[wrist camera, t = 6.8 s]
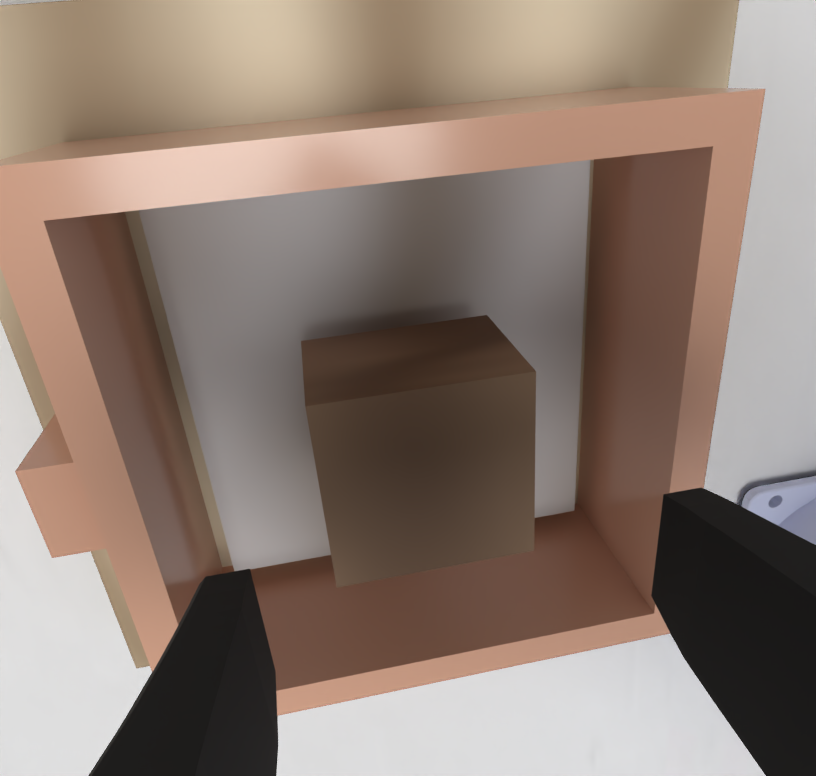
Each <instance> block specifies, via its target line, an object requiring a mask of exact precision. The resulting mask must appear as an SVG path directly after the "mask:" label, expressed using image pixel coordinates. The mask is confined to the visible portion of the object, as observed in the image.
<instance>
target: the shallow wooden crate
mask: <svg viewBox="0 0 816 776" xmlns="http://www.w3.org/2000/svg"><path fill="white" fill-rule="evenodd" d="M764 95H765V89H747V88H681V87H623V88H613V89H602V90H592V91H582V92H572V93H561V94H551V95H541V96H531V97H520V98H510V99H500V100H490V101H479V102H469V103H459V104H449V105H438V106H428V107H418V108H408V109H397V110H387V111H377V112H367V113H356V114H346V115H336V116H326V117H315V118H305V119H295V120H285V121H274V122H264V123H254V124H244V125H233V126H223V127H213V128H203V129H192V130H182V131H172V132H162V133H151V134H141V135H131V136H121V137H110V138H100V139H90V140H80V141H69V142H62V143H58V144H54V145H51V146H47V147H44V148H40V149H36V150H33V151H29V152H25V153H22V154H18V155H14V156H11V157H7V158H4V159H0V268H1V271H2V273H3V276H4V279H5V281H6V284H7V287H8V289H9V292H10V295H11V297H12V300H13V302H14V305H15V308H16V310H17V313H18V316H19V318H20V321H21V324H22V326H23V329H24V332H25V334H26V337H27V340H28V342H29V345H30V348H31V350H32V353H33V356H34V358H35V361H36V364H37V366H38V369H39V372H40V374H41V377H42V380H43V382H44V385H45V388H46V390H47V393H48V396H49V398H50V401H51V404H52V406H53V409H54V412H55V414H54V416H53V417H52V419H51V420H50V422H49V423H48V425H47V426H46V428H45V429H44V430H43V432H42V433H41V435H40V436H39V438H38V439H37V441H36V442H35V444H34V445H33V446H32V448H31V449H30V451H29V452H28V454H27V455H26V457H25V458H24V459H23V461H22V462H21V464H20V465H19V467H18V468H17V470H16V471H15V472H16V475H17V477H18V479H19V482H20V484H21V486H22V489H23V491H24V493H25V496H26V498H27V500H28V503H29V505H30V507H31V510H32V512H33V514H34V517H35V519H36V521H37V524H38V526H39V528H40V531H41V533H42V535H43V538H44V540H45V542H46V545H47V547H48V549H49V552H50V554H51V556H52V558H54V557H60V556H66V555H72V554H78V553H83V552H89V551H95V550H101V549H106V550H107V553H108V555H109V558H110V561H111V563H112V566H113V569H114V571H115V574H116V577H117V579H118V582H119V585H120V587H121V590H122V593H123V595H124V598H125V601H126V603H127V606H128V609H129V611H130V614H131V617H132V619H133V622H134V625H135V627H136V630H137V633H138V635H139V638H140V641H141V643H142V646H143V649H144V651H145V654H146V657H147V659H148V662H149V665H150V667H151V670H152V672H153V670H154V669H155V667H156V665H157V663H158V662H159V660H160V658H161V656H162V654H163V653H164V651H165V649H166V647H167V645H168V643H169V642H170V640H171V638H172V636H173V634H174V632H175V631H176V629H177V627H178V625H179V623H180V621H181V619H182V617H183V615H184V613H185V611H186V609H187V608H188V606H189V604H190V602H191V600H192V598H193V596H194V594H195V592H196V590H197V588H198V586H199V584H200V583H201V582H202V580H203V579H204V578H205V577H206V576H212V575H217V574H223V573H228V572H234V568H233V565H232V566H226V567H222V564H221V560H220V556H219V553H218V549H217V546H216V542H215V538H214V535H213V531H212V527H211V524H210V520H209V516H208V513H207V509H206V506H205V502H204V498H203V495H202V491H201V487H200V484H199V480H198V477H197V473H196V469H195V466H194V462H193V458H192V455H191V451H190V447H189V444H188V440H187V437H186V433H185V429H184V426H183V422H182V418H181V415H180V411H179V407H178V404H177V400H176V397H175V393H174V389H173V386H172V382H171V378H170V375H169V371H168V367H167V364H166V360H165V357H164V353H163V349H162V346H161V342H160V338H159V335H158V331H157V328H156V324H155V320H154V317H153V313H152V309H151V306H150V302H149V298H148V295H147V291H146V288H145V284H144V280H143V277H142V273H141V269H140V266H139V262H138V258H137V255H136V251H135V248H134V244H133V240H132V237H131V233H130V229H129V226H128V222H127V219H126V215H125V212H127V211H136V210H145V209H154V208H163V207H172V206H181V205H190V204H199V203H208V202H217V201H226V200H235V199H244V198H253V197H262V196H271V195H280V194H289V193H298V192H307V191H316V190H324V189H333V188H342V187H351V186H360V185H369V184H378V183H387V182H396V181H405V180H414V179H423V178H432V177H441V176H450V175H459V174H468V173H477V172H486V171H495V170H504V169H513V168H522V167H531V166H540V165H549V164H558V163H567V162H576V161H585V160H594V168H593V189H592V210H591V231H590V251H589V272H588V293H587V314H586V335H585V356H584V377H583V398H582V419H581V440H580V461H579V482H578V503H577V504H575V510H574V511H570V512H565V513H559V514H554V515H548V516H542V517H537V518H535V525H534V551H530V552H524V553H519V554H514V555H508V556H503V557H498V558H492V559H487V560H482V561H476V562H471V563H466V564H460V565H455V566H450V567H444V568H439V569H434V570H428V571H423V572H418V573H412V574H407V575H402V576H396V577H391V578H386V579H380V580H375V581H370V582H364V583H359V584H354V585H348V586H343V587H338V588H337V586H336V581H335V575H334V569H333V563H332V558H331V555H327V556H322V557H316V558H311V559H305V560H300V561H294V562H288V563H283V564H277V565H272V566H266V567H261V568H255V569H250V571H251V575H252V579H253V583H254V587H255V591H256V595H257V599H258V603H259V607H260V611H261V615H262V619H263V623H264V627H265V631H266V635H267V639H268V643H269V647H270V651H271V655H272V659H273V663H274V667H275V671H276V695H277V716H278V715H283V714H288V713H293V712H297V711H302V710H307V709H312V708H316V707H321V706H326V705H331V704H335V703H340V702H345V701H350V700H355V699H359V698H364V697H369V696H374V695H378V694H383V693H388V692H393V691H397V690H402V689H407V688H412V687H417V686H421V685H426V684H431V683H436V682H440V681H445V680H450V679H455V678H460V677H464V676H469V675H474V674H479V673H483V672H488V671H493V670H498V669H502V668H507V667H512V666H517V665H522V664H526V663H531V662H536V661H541V660H545V659H550V658H555V657H560V656H565V655H569V654H574V653H579V652H584V651H588V650H593V649H598V648H603V647H607V646H612V645H617V644H622V643H627V642H631V641H636V640H641V639H646V638H650V637H655V636H660V635H665V634H669V633H670V631H669V630H668V628H667V626H666V624H665V622H664V620H663V618H662V616H661V614H660V612H659V610H658V608H657V606H656V604H655V602H654V600H653V598H652V596H651V594H652V585H653V577H654V569H655V560H656V552H657V544H658V536H659V527H660V519H661V511H662V502H663V494H667V493H673V492H679V491H684V490H690V489H695V488H704V482H705V475H706V469H707V462H708V456H709V450H710V443H711V437H712V430H713V424H714V417H715V411H716V404H717V398H718V391H719V385H720V379H721V372H722V366H723V359H724V353H725V346H726V340H727V333H728V327H729V320H730V314H731V308H732V301H733V295H734V288H735V282H736V275H737V269H738V262H739V256H740V249H741V243H742V237H743V230H744V224H745V217H746V211H747V204H748V198H749V191H750V185H751V178H752V172H753V166H754V159H755V153H756V146H757V140H758V133H759V127H760V120H761V114H762V107H763V101H764Z"/></svg>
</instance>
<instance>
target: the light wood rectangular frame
mask: <svg viewBox="0 0 816 776" xmlns="http://www.w3.org/2000/svg"><path fill="white" fill-rule="evenodd" d="M738 5H739V0H71V1H57V2H43V3H29V4H15V5H1V6H0V159H4V158H7V157H11V156H14V155H18V154H22V153H25V152H29V151H33V150H36V149H40V148H44V147H47V146H51V145H54V144H58V143H62V142H69V141H80V140H90V139H100V138H110V137H121V136H131V135H141V134H151V133H162V132H172V131H182V130H192V129H203V128H213V127H223V126H233V125H244V124H254V123H264V122H274V121H285V120H295V119H305V118H315V117H326V116H336V115H346V114H356V113H367V112H377V111H387V110H397V109H408V108H418V107H428V106H438V105H449V104H459V103H469V102H479V101H490V100H500V99H510V98H520V97H531V96H541V95H551V94H561V93H572V92H582V91H592V90H602V89H613V88H623V87H681V88H728V81H729V74H730V66H731V58H732V51H733V43H734V35H735V28H736V20H737V12H738ZM593 168H594V160H590V180H589V202H588V224H587V246H586V268H585V290H584V312H583V334H582V356H581V378H580V400H579V422H578V444H577V466H576V488H575V504H577V503H578V482H579V461H580V440H581V419H582V398H583V377H584V356H585V335H586V314H587V293H588V272H589V251H590V231H591V210H592V189H593ZM125 215H126V219H127V222H128V226H129V229H130V233H131V237H132V240H133V244H134V248H135V251H136V255H137V258H138V262H139V266H140V269H141V273H142V277H143V280H144V284H145V288H146V291H147V295H148V298H149V302H150V306H151V309H152V313H153V317H154V320H155V324H156V328H157V331H158V335H159V338H160V342H161V346H162V349H163V353H164V357H165V360H166V364H167V367H168V371H169V375H170V378H171V382H172V386H173V389H174V393H175V397H176V400H177V404H178V407H179V411H180V415H181V418H182V422H183V426H184V429H185V433H186V437H187V440H188V444H189V447H190V451H191V455H192V458H193V462H194V466H195V469H196V473H197V477H198V480H199V484H200V487H201V491H202V495H203V498H204V502H205V506H206V509H207V513H208V516H209V520H210V524H211V527H212V531H213V535H214V538H215V542H216V546H217V549H218V553H219V556H220V560H221V564H222V567H226V566H232V565H233V564H232V561H231V557H230V553H229V549H228V545H227V542H226V538H225V534H224V530H223V527H222V523H221V519H220V515H219V512H218V508H217V504H216V500H215V496H214V493H213V489H212V485H211V481H210V478H209V474H208V470H207V466H206V463H205V459H204V455H203V451H202V447H201V444H200V440H199V436H198V432H197V429H196V425H195V421H194V417H193V414H192V410H191V406H190V402H189V398H188V395H187V391H186V387H185V383H184V380H183V376H182V372H181V368H180V365H179V361H178V357H177V353H176V349H175V346H174V342H173V338H172V334H171V331H170V327H169V323H168V319H167V316H166V312H165V308H164V304H163V300H162V297H161V293H160V289H159V285H158V282H157V278H156V274H155V270H154V267H153V263H152V259H151V255H150V251H149V248H148V244H147V240H146V236H145V233H144V229H143V225H142V221H141V218H140V214H139V210H136V211H127V212H125ZM0 320H1V323H2V325H3V328H4V330H5V333H6V336H7V338H8V341H9V343H10V346H11V348H12V351H13V353H14V356H15V359H16V361H17V364H18V366H19V369H20V371H21V374H22V376H23V379H24V382H25V384H26V387H27V389H28V392H29V394H30V397H31V400H32V402H33V405H34V407H35V410H36V412H37V415H38V417H39V420H40V423H41V425H42V428H43V430H44V429H45V428H46V426H47V425H48V423H49V422H50V420H51V419H52V417H53V416H54V414H55V412H54V409H53V406H52V404H51V401H50V398H49V396H48V393H47V390H46V388H45V385H44V382H43V380H42V377H41V374H40V372H39V369H38V366H37V364H36V361H35V358H34V356H33V353H32V350H31V348H30V345H29V342H28V340H27V337H26V334H25V332H24V329H23V326H22V324H21V321H20V318H19V316H18V313H17V310H16V308H15V305H14V302H13V300H12V297H11V295H10V292H9V289H8V287H7V284H6V281H5V279H4V276H3V273H2V271H1V268H0ZM91 553H92V556H93V558H94V561H95V564H96V566H97V569H98V571H99V574H100V576H101V579H102V581H103V584H104V587H105V589H106V592H107V594H108V597H109V599H110V602H111V605H112V607H113V610H114V612H115V615H116V617H117V620H118V622H119V625H120V628H121V630H122V633H123V635H124V638H125V640H126V643H127V645H128V648H129V651H130V653H131V656H132V658H133V661H134V663H135V666H136V668H141V667H146V666H150V665H149V662H148V659H147V657H146V654H145V651H144V649H143V646H142V643H141V641H140V638H139V635H138V633H137V630H136V627H135V625H134V622H133V619H132V617H131V614H130V611H129V609H128V606H127V603H126V601H125V598H124V595H123V593H122V590H121V587H120V585H119V582H118V579H117V577H116V574H115V571H114V569H113V566H112V563H111V561H110V558H109V555H108V553H107V550H106V549H101V550H95V551H91Z"/></svg>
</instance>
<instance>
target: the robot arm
mask: <svg viewBox="0 0 816 776" xmlns="http://www.w3.org/2000/svg"><path fill="white" fill-rule="evenodd" d="M651 596H652V598H653V600H654V602H655V604H656V606H657V608H658V610H659V612H660V614H661V616H662V618H663V620H664V622H665V624H666V626H667V628H668V630H669V631H670V633H671V635H672V637H673V639H674V641H675V642H676V644H677V646H678V648H679V650H680V651H681V653H682V655H683V657H684V659H685V660H686V661H687V663H688V664H689V666H690V667H691V669H692V670H693V672H694V673H695V675H696V676H697V678H698V679H699V681H700V682H701V684H702V685H703V686H704V688H705V689H706V691H707V692H708V694H709V695H710V697H711V698H712V699H713V701H714V702H715V704H716V705H717V707H718V708H719V710H720V711H721V712H722V714H723V715H724V717H725V718H726V720H727V721H728V722H729V724H730V725H731V727H732V728H733V729H734V731H735V732H736V734H737V735H738V737H739V738H740V739H741V741H742V742H743V744H744V745H745V747H746V748H747V749H748V751H749V752H750V754H751V755H752V756H753V758H754V759H755V761H756V762H757V764H758V765H759V766H760V768H761V769H762V771H763V772H764V774H765V775H766V776H816V476H812V477H807V478H801V479H796V480H790V481H785V482H779V483H774V484H769V485H763V486H758V487H755V488H752V489H751V490H749V491H748V492H747V493H746V494H745V496H744V498H743V501H742V506H739V505H737V504H735V503H733V502H731V501H729V500H727V499H725V498H723V497H721V496H719V495H717V494H714V493H712V492H710V491H708V490H706V489H703V488H695V489H690V490H684V491H679V492H673V493H667V494H663V502H662V511H661V519H660V527H659V536H658V544H657V552H656V560H655V569H654V577H653V585H652V594H651ZM277 753H278V725H277V695H276V671H275V667H274V663H273V659H272V655H271V651H270V647H269V643H268V639H267V635H266V631H265V627H264V623H263V619H262V615H261V611H260V607H259V603H258V599H257V595H256V591H255V587H254V583H253V579H252V575H251V571H250V569H245V570H239V571H234V572H228V573H223V574H217V575H212V576H206V577H205V578H204V579H203V580H202V582H201V583H200V584H199V586H198V588H197V590H196V592H195V594H194V596H193V598H192V600H191V602H190V604H189V606H188V608H187V609H186V611H185V613H184V615H183V617H182V619H181V621H180V623H179V625H178V627H177V629H176V631H175V632H174V634H173V636H172V638H171V640H170V642H169V643H168V645H167V647H166V649H165V651H164V653H163V654H162V656H161V658H160V660H159V662H158V663H157V665H156V667H155V669H154V670H153V672H152V674H151V675H150V677H149V679H148V681H147V682H146V684H145V686H144V687H143V689H142V691H141V692H140V694H139V696H138V698H137V699H136V701H135V703H134V704H133V706H132V708H131V710H130V711H129V713H128V715H127V716H126V718H125V720H124V721H123V723H122V725H121V726H120V728H119V729H118V731H117V733H116V734H115V736H114V737H113V739H112V740H111V742H110V743H109V745H108V746H107V748H106V750H105V751H104V753H103V754H102V756H101V757H100V759H99V760H98V762H97V763H96V765H95V767H94V768H93V770H92V771H91V773H90V774H89V776H276V769H277Z"/></svg>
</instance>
